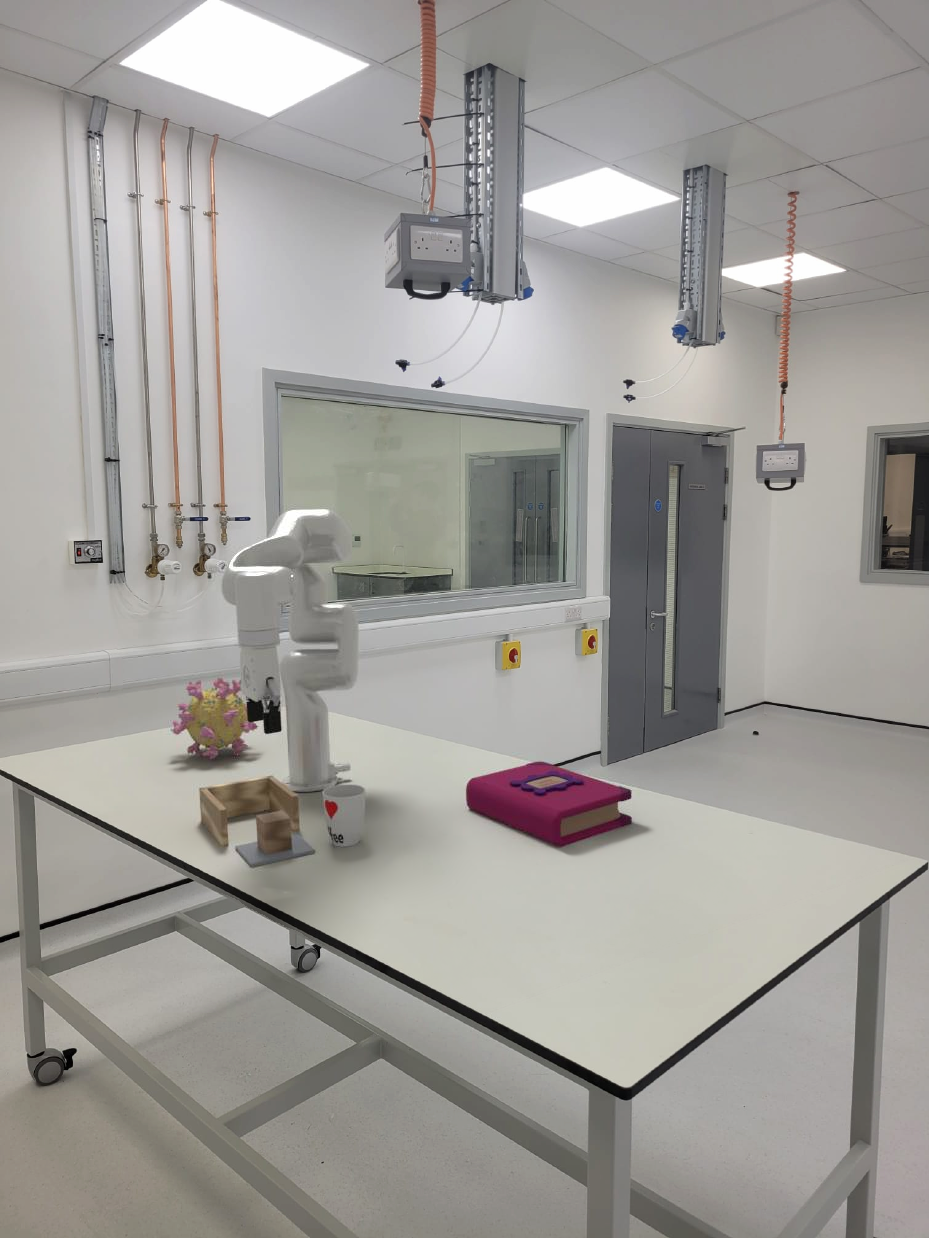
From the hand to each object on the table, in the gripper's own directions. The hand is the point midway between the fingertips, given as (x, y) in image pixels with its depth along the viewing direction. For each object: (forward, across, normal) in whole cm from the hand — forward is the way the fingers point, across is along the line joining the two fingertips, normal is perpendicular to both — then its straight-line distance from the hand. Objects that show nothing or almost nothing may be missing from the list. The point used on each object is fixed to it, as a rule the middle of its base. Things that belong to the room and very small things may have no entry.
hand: (264, 726), depth 165 cm
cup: (+23, +9, +12) cm, 27 cm away
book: (+24, +20, +52) cm, 60 cm away
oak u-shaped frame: (+23, -10, -1) cm, 25 cm away
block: (+22, +6, -1) cm, 23 cm away
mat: (+22, +6, -1) cm, 23 cm away
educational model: (+25, -67, +9) cm, 72 cm away
